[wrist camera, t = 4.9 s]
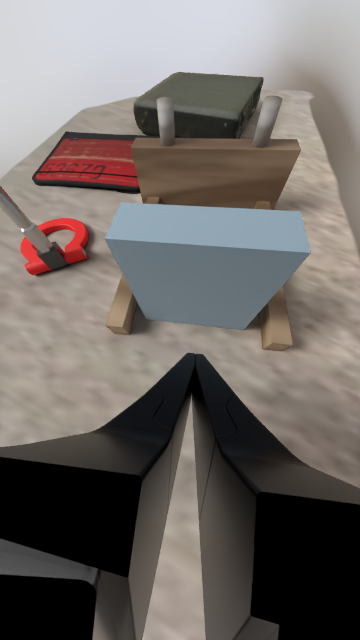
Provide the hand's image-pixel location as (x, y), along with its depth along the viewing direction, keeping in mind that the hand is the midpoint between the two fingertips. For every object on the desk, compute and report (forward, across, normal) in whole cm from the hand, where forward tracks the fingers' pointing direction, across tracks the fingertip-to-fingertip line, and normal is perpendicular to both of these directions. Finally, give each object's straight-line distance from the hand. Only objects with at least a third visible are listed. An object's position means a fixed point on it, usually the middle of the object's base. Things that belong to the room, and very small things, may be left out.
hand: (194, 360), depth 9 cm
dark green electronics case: (+44, +3, -33) cm, 55 cm away
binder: (+30, +20, -20) cm, 41 cm away
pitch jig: (+15, 0, -5) cm, 15 cm away
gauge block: (+12, 0, -2) cm, 12 cm away
